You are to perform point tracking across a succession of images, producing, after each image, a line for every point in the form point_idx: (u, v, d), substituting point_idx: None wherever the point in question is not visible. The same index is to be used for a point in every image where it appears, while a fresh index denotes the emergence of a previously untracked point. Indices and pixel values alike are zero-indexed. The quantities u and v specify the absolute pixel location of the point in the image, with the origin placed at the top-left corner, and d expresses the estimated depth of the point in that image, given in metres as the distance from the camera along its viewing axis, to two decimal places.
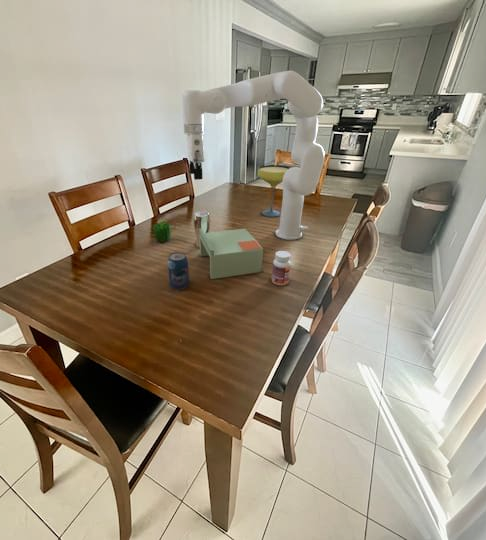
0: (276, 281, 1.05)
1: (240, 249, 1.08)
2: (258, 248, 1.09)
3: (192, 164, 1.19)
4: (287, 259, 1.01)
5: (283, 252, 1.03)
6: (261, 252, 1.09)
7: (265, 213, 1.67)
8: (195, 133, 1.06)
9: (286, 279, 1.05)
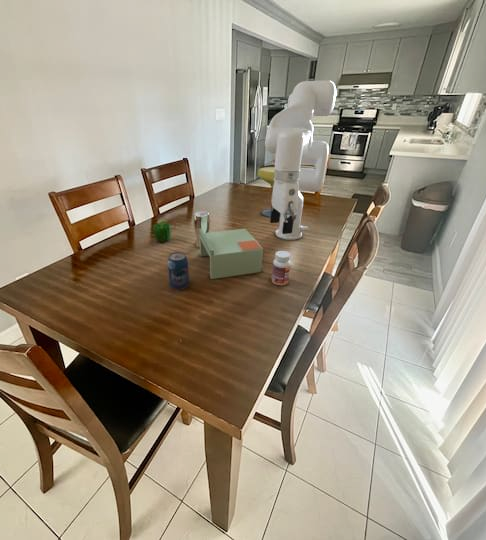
0: (276, 281, 1.05)
1: (240, 249, 1.08)
2: (258, 248, 1.09)
3: (274, 212, 1.00)
4: (287, 259, 1.01)
5: (283, 252, 1.03)
6: (261, 252, 1.09)
7: (265, 213, 1.67)
8: (290, 181, 0.87)
9: (286, 279, 1.05)
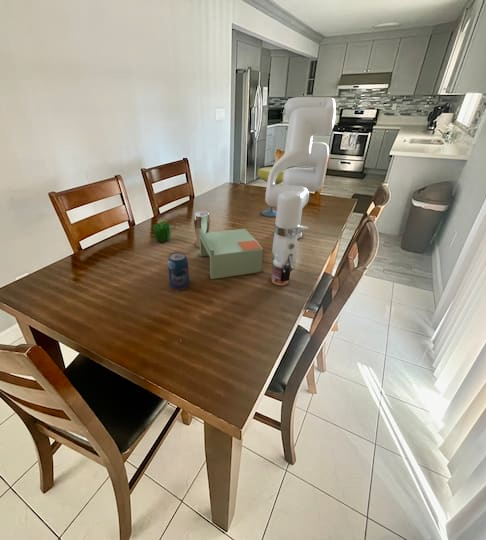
0: (276, 281, 1.05)
1: (240, 249, 1.08)
2: (258, 248, 1.09)
3: None
4: None
5: None
6: (261, 252, 1.09)
7: (265, 213, 1.67)
8: (290, 237, 0.95)
9: None
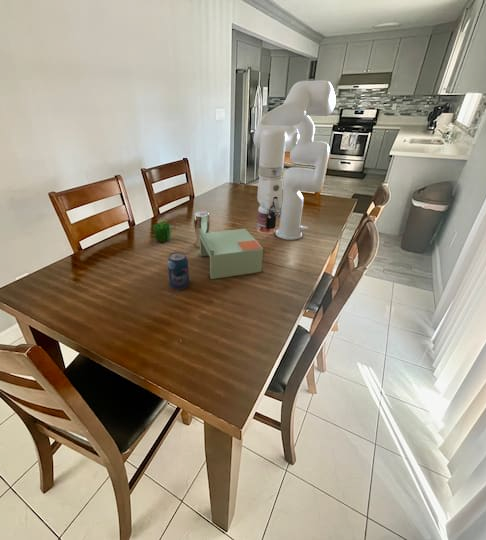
0: (261, 230, 1.01)
1: (240, 249, 1.08)
2: (258, 248, 1.09)
3: None
4: None
5: None
6: (261, 252, 1.09)
7: None
8: (274, 177, 0.90)
9: None
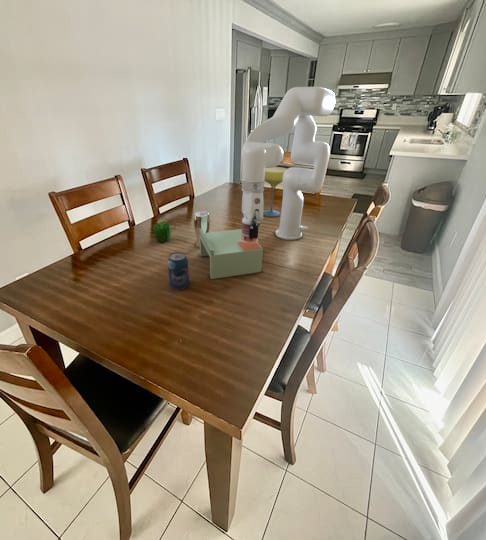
0: (245, 239, 1.07)
1: (240, 249, 1.08)
2: (258, 248, 1.09)
3: None
4: None
5: None
6: (261, 252, 1.09)
7: (265, 213, 1.67)
8: (256, 191, 0.97)
9: None
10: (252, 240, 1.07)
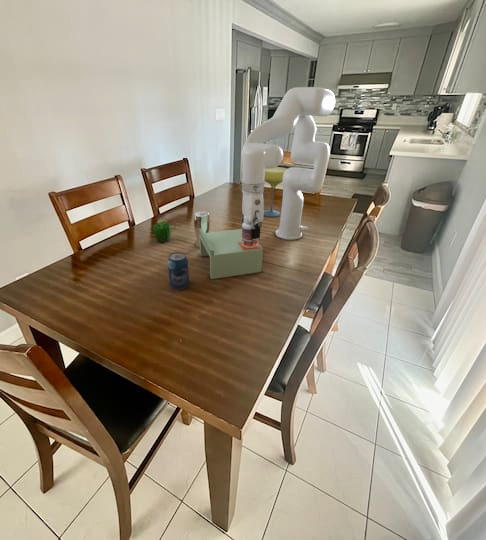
0: (245, 244, 1.08)
1: (240, 249, 1.08)
2: (258, 248, 1.09)
3: None
4: None
5: None
6: (261, 252, 1.09)
7: (265, 213, 1.67)
8: (256, 193, 0.97)
9: (255, 242, 1.08)
10: (252, 245, 1.08)
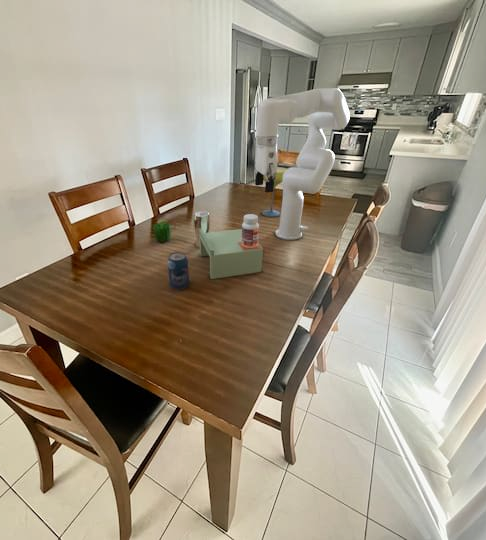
0: (245, 244, 1.08)
1: (240, 249, 1.08)
2: (258, 248, 1.09)
3: (259, 175, 1.16)
4: (254, 221, 1.04)
5: (251, 215, 1.06)
6: (261, 252, 1.09)
7: (265, 213, 1.67)
8: (270, 145, 1.02)
9: (255, 242, 1.08)
10: (252, 245, 1.08)
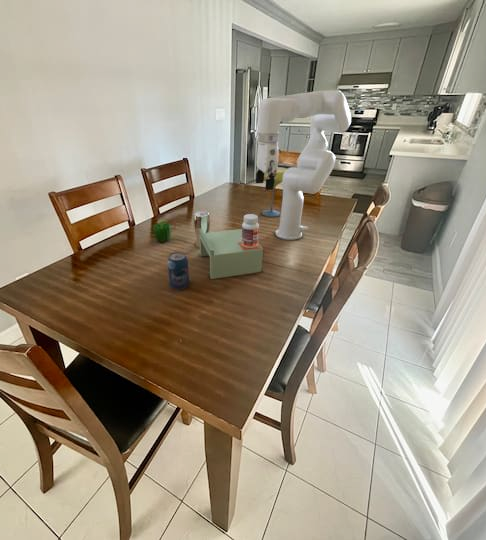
0: (245, 244, 1.08)
1: (240, 249, 1.08)
2: (258, 248, 1.09)
3: (259, 173, 1.16)
4: (254, 221, 1.04)
5: (251, 215, 1.06)
6: (261, 252, 1.09)
7: (265, 213, 1.67)
8: (271, 143, 1.03)
9: (255, 242, 1.08)
10: (252, 245, 1.08)
